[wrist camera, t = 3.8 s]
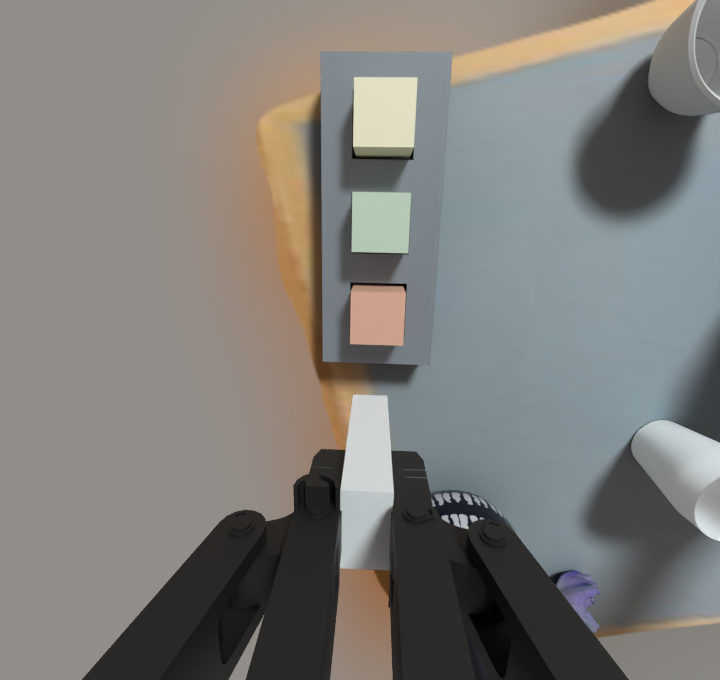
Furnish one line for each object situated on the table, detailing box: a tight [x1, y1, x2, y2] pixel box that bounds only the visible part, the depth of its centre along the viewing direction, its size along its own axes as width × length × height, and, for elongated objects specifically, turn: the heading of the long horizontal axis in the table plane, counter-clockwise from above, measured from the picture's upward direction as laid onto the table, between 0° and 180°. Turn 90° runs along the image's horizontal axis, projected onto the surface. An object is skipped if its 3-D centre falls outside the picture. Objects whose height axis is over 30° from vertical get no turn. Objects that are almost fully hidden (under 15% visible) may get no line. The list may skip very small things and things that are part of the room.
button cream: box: [353, 77, 418, 160], centre depth 36 cm, size 5×5×6 cm
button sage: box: [351, 192, 411, 253], centre depth 39 cm, size 5×5×6 cm
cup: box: [631, 420, 720, 541], centre depth 44 cm, size 9×9×12 cm
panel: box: [321, 52, 452, 365], centre depth 42 cm, size 30×12×5 cm, turn 179°
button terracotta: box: [350, 283, 406, 346], centre depth 41 cm, size 5×5×6 cm
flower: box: [555, 570, 600, 633], centre depth 54 cm, size 9×9×10 cm
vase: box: [430, 490, 516, 680], centre depth 40 cm, size 16×16×30 cm
